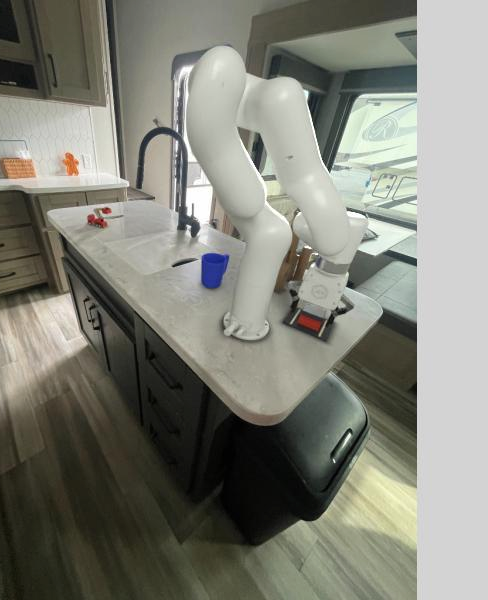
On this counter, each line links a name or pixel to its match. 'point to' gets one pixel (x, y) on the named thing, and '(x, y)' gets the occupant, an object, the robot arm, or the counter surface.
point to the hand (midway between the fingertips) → (309, 317)
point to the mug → (213, 269)
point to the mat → (320, 334)
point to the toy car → (312, 316)
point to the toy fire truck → (100, 219)
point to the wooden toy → (292, 262)
